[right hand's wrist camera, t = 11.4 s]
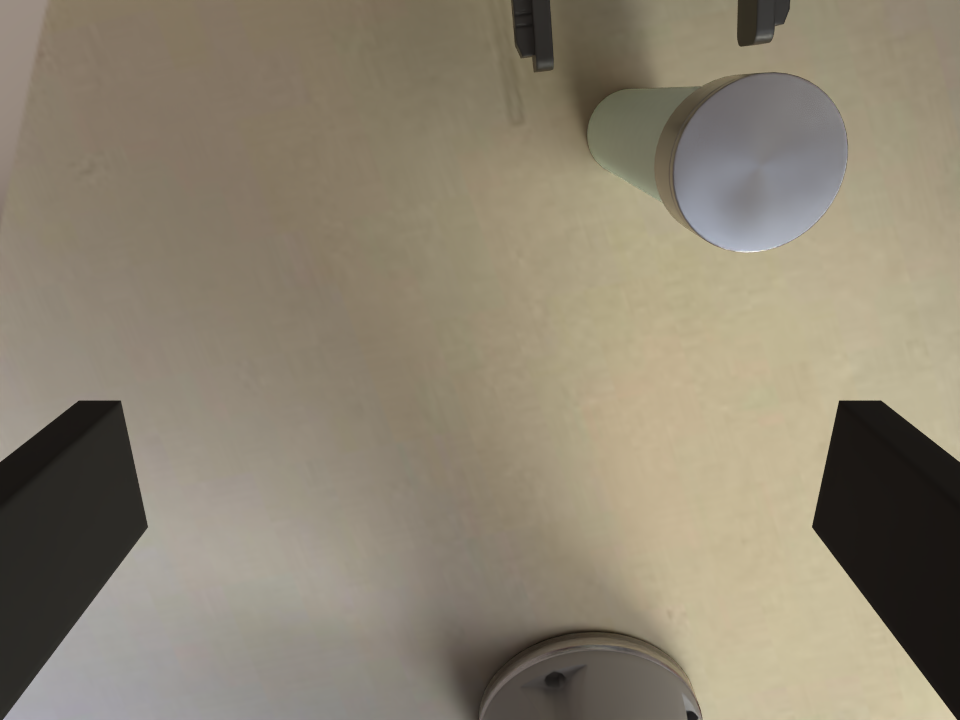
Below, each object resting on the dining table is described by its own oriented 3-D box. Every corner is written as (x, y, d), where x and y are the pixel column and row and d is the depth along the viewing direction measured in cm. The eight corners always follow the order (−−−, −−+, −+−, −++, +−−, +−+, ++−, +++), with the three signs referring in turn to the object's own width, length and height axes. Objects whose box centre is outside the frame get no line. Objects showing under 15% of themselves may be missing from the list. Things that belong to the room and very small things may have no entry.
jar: (683, 110, 34) (860, 124, 18) (643, 187, 35) (776, 262, 20) (610, 74, 33) (728, 56, 18) (573, 153, 35) (651, 204, 19)
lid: (843, 117, 20) (884, 120, 18) (757, 261, 21) (786, 278, 19) (705, 45, 19) (730, 40, 17) (625, 200, 20) (641, 211, 19)
